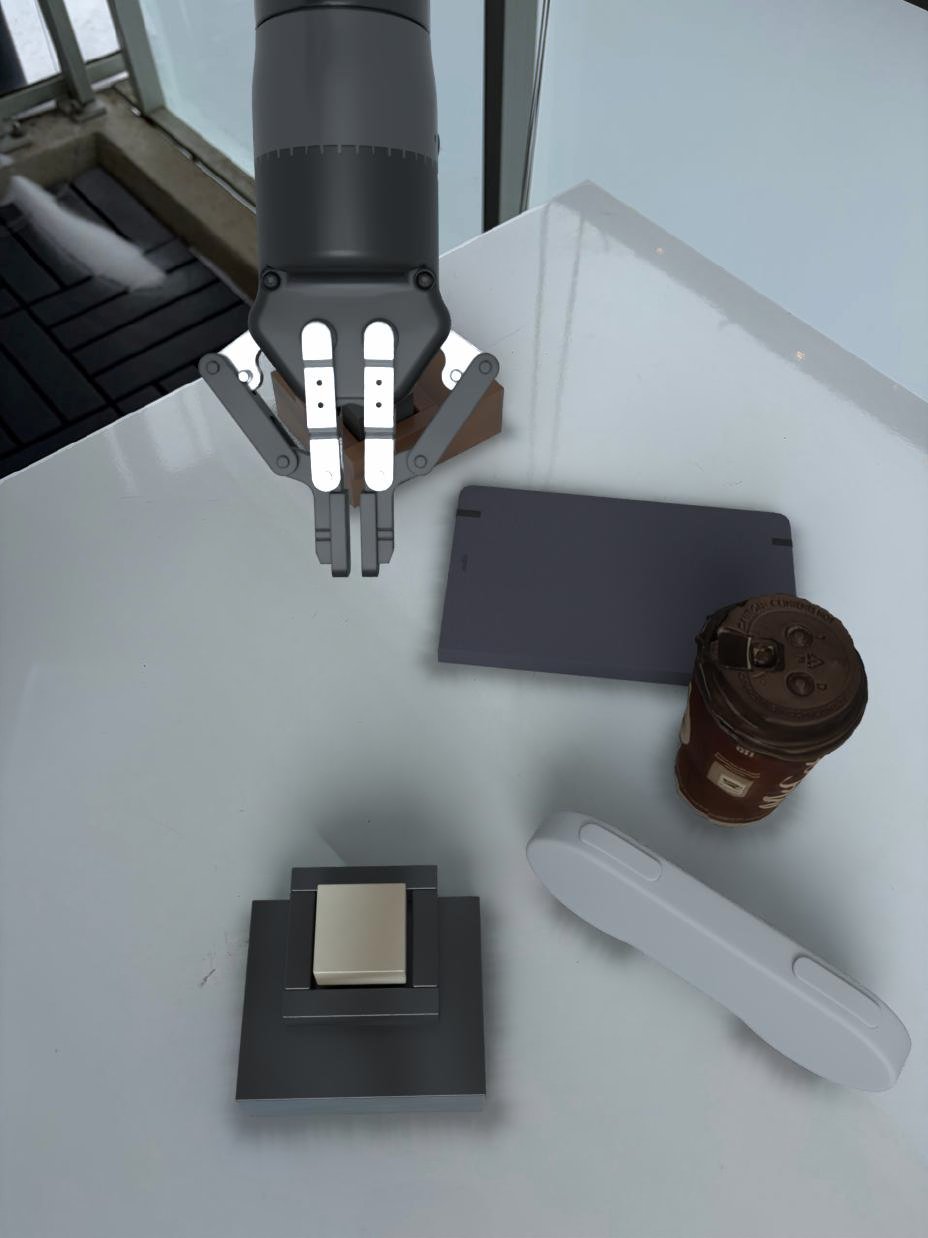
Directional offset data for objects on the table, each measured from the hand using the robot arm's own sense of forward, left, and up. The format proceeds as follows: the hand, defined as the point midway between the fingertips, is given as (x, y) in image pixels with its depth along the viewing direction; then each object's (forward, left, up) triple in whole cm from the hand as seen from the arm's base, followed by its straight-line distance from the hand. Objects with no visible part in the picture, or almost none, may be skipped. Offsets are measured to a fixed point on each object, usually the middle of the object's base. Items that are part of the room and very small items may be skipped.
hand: (356, 573), depth 48 cm
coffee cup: (+15, -13, -17) cm, 26 cm away
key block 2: (-8, -12, -16) cm, 22 cm away
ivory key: (-7, -11, -11) cm, 17 cm away
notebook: (+18, 0, -17) cm, 25 cm away
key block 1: (+14, +20, -16) cm, 29 cm away
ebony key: (+11, +17, -11) cm, 23 cm away
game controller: (+6, -20, -17) cm, 27 cm away
